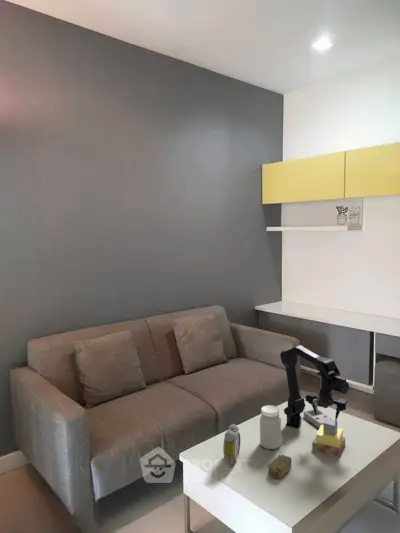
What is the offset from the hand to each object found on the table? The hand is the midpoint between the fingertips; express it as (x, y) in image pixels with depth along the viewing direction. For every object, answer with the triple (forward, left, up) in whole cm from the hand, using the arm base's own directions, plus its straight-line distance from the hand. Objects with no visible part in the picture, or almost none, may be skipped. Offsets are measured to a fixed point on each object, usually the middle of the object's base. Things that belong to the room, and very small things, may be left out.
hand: (326, 417), depth 192 cm
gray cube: (+3, -3, -5) cm, 7 cm away
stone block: (-11, -32, -13) cm, 36 cm away
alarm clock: (-33, -35, -13) cm, 50 cm away
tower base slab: (+2, -3, -13) cm, 14 cm away
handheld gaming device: (-9, +19, -13) cm, 25 cm away
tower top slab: (+2, -3, -9) cm, 10 cm away
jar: (-22, -15, -13) cm, 30 cm away
